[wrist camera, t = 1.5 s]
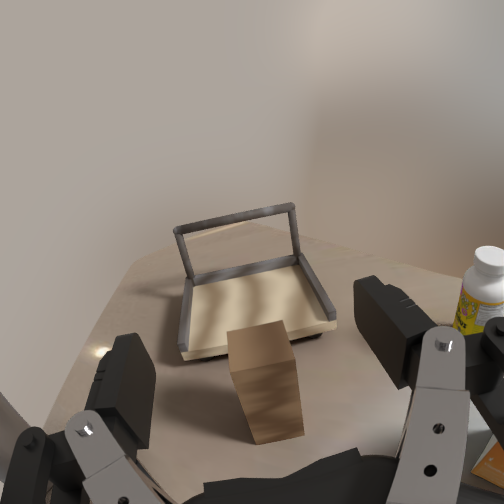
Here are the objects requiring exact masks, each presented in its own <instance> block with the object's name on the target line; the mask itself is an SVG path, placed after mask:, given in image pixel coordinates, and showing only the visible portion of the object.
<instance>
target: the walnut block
mask: <svg viewBox="0 0 504 504" xmlns="http://www.w3.org/2000/svg"><path fill="white" fill-rule="evenodd" d="M227 344H228V357H229V369H230V374H231V377H232V380H233V383H234V386H235V389H236V392H237V394H238V397H239V400H240V403H241V405H242V408H243V411H244V414H245V416H246V419H247V422H248V424H249V427H250V430H251V432H252V435H253V438H254V440H255V443H256V445H261V444H266V443H271V442H276V441H281V440H286V439H290V438H295V437H299V436H303V435H304V426H303V418H302V409H301V401H300V393H299V385H298V377H297V370H296V362H295V357H294V354H293V351H292V348H291V344H290V341H289V338H288V335H287V332H286V329H285V326H284V323H283V320H280V321H275V322H271V323H266V324H262V325H257V326H252V327H247V328H242V329H237V330H232V331H227Z"/></svg>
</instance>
